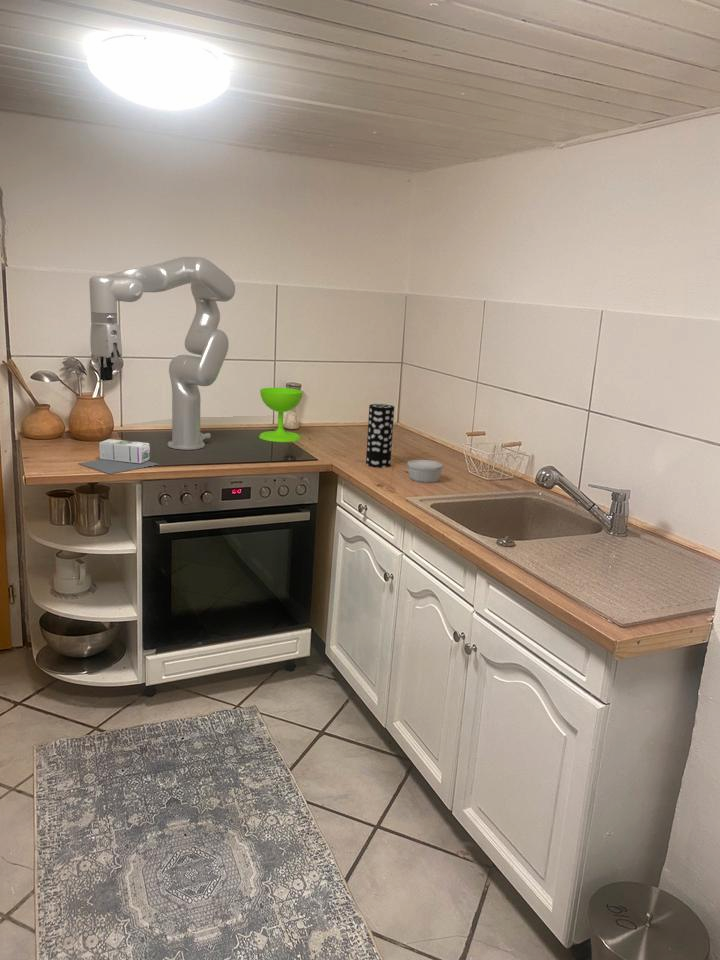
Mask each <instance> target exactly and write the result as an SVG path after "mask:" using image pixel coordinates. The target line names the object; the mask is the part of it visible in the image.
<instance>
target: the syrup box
mask: <svg viewBox="0 0 720 960" xmlns="http://www.w3.org/2000/svg"><path fill="white" fill-rule="evenodd" d="M98 448H99V449H98V450H99V452H98V453H99V460H101V459H104V460H112V461H121V462H131V463H140V464H141V463H143V462H145V461H150V459H151V447H150V443H149V442H142V441H133V440H132V441H131V440H125V439H124V440H122V439H113V438H112V439H111V438H107V439H105V440H103V441H99V445H98Z"/></svg>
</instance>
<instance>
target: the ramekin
mask: <svg viewBox="0 0 720 960" xmlns="http://www.w3.org/2000/svg"><path fill="white" fill-rule="evenodd" d="M407 468H408V469H407V470H408V477H409V479H410V480H411V481H413V482H417V483H422V484H423V483H424V484H426V483H427V484H433V483H437V482H438V481H439V480H440V478H441V474H442V473H441V472H442V470H443V464H442V463H441V462H439V461H436V460H430V459H429V460H427V459H413V460H408V461H407Z"/></svg>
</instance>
